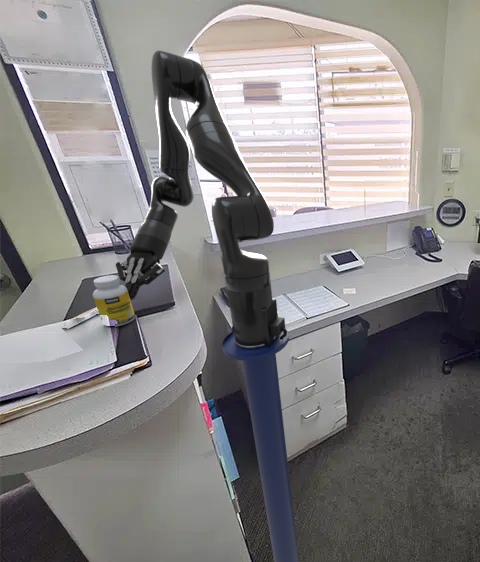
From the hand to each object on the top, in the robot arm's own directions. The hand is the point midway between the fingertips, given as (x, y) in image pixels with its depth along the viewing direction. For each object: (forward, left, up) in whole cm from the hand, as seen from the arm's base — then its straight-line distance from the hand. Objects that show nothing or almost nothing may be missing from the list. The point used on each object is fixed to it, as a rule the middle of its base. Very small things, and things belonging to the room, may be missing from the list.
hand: (127, 298), depth 79 cm
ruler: (+10, 0, -5) cm, 11 cm away
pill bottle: (0, +4, -5) cm, 6 cm away
